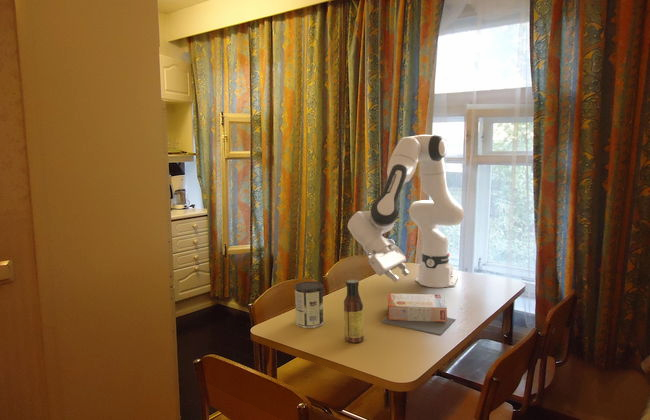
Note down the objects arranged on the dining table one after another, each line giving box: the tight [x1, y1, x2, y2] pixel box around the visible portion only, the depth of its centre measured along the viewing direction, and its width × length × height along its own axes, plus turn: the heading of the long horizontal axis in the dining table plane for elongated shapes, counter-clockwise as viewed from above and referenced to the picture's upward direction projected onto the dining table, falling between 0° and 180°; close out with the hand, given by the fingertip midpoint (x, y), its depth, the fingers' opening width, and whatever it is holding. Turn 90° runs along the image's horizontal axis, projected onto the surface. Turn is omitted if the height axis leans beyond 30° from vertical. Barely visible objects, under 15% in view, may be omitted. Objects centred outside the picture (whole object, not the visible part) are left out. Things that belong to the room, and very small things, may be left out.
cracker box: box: [387, 292, 448, 322], centre depth 162 cm, size 14×6×21 cm
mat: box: [380, 316, 456, 336], centre depth 157 cm, size 16×22×1 cm
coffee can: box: [294, 281, 325, 329], centre depth 156 cm, size 10×10×14 cm
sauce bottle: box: [343, 279, 365, 344], centre depth 141 cm, size 6×6×20 cm
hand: (402, 277), depth 159 cm, fingers open, 8 cm apart
